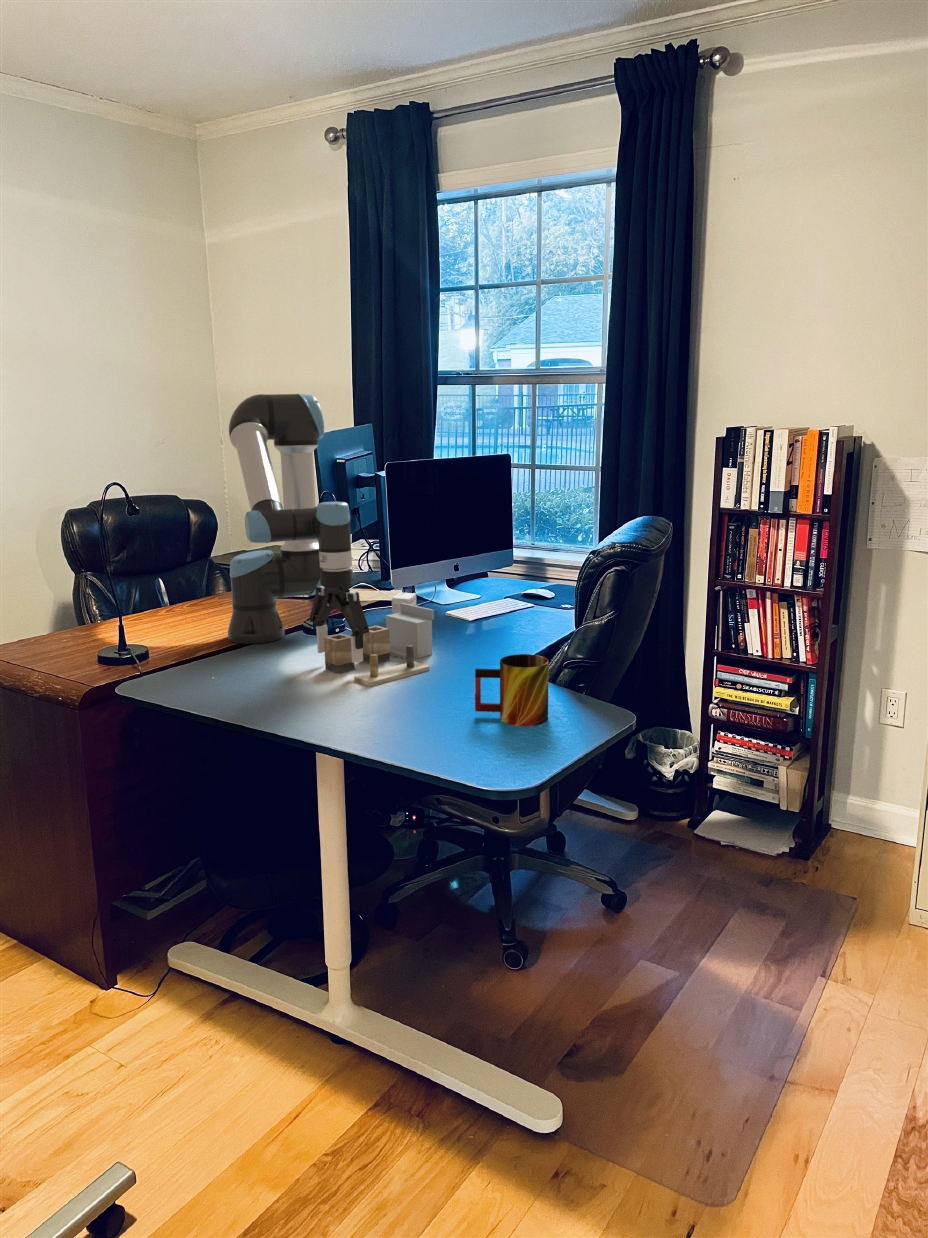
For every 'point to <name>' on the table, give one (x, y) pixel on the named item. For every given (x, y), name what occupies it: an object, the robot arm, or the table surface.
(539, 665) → the mug
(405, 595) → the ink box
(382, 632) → the sleeve
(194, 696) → the table surface
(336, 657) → the sleeve
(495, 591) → the table surface
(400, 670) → the pin board
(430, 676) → the table surface
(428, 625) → the chute
